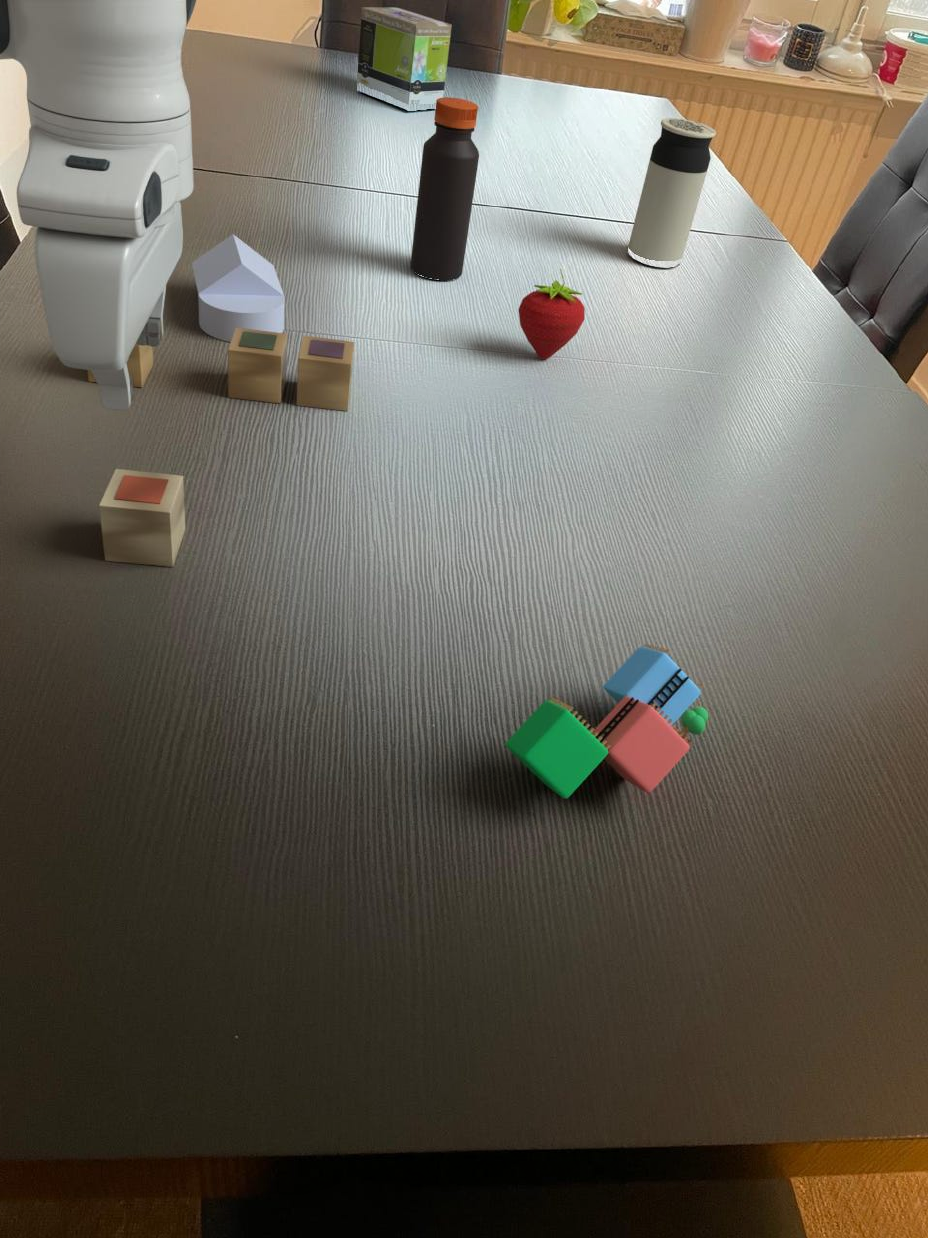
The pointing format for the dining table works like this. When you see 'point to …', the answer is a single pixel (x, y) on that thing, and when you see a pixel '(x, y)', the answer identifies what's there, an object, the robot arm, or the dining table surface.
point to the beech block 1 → (136, 365)
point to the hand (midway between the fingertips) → (134, 371)
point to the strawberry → (551, 317)
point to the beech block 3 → (324, 373)
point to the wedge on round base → (237, 291)
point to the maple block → (143, 517)
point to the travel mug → (671, 190)
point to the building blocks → (616, 728)
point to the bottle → (446, 191)
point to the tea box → (403, 54)
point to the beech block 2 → (257, 365)
